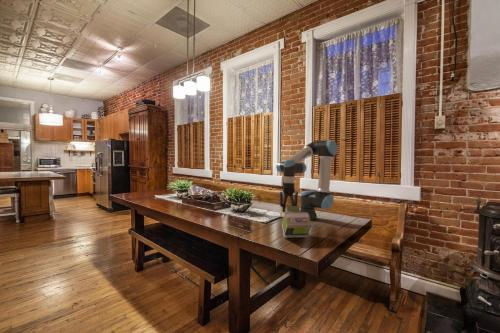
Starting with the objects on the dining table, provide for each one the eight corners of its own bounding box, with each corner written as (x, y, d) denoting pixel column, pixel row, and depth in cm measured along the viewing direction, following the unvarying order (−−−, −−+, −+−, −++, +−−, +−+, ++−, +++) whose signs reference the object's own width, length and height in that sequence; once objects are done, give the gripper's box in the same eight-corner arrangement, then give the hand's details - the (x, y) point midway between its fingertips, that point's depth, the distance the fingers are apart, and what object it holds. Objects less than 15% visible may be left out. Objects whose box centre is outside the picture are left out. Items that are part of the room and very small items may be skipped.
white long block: (277, 216, 181) (277, 206, 182) (288, 216, 182) (287, 206, 183) (287, 217, 158) (287, 206, 159) (299, 217, 159) (299, 206, 160)
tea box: (303, 223, 166) (308, 211, 155) (306, 237, 159) (312, 226, 148) (281, 223, 164) (285, 211, 153) (283, 238, 158) (287, 226, 147)
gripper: (278, 183, 163) (278, 218, 164) (303, 183, 167) (302, 217, 168) (275, 182, 170) (274, 216, 171) (298, 181, 174) (297, 215, 175)
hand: (288, 216), depth 169 cm, fingers closed on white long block, 4 cm apart
